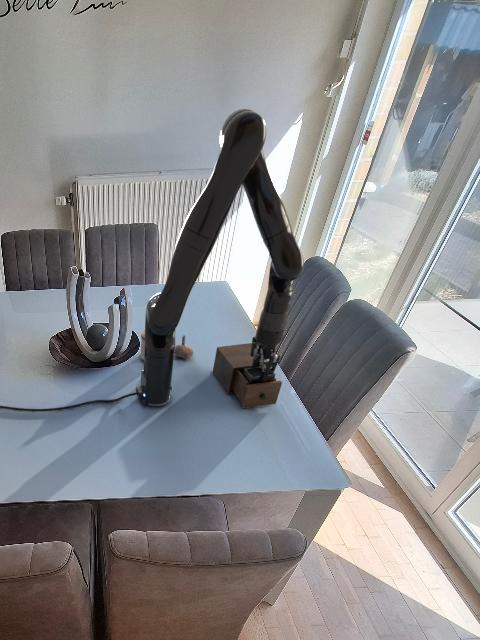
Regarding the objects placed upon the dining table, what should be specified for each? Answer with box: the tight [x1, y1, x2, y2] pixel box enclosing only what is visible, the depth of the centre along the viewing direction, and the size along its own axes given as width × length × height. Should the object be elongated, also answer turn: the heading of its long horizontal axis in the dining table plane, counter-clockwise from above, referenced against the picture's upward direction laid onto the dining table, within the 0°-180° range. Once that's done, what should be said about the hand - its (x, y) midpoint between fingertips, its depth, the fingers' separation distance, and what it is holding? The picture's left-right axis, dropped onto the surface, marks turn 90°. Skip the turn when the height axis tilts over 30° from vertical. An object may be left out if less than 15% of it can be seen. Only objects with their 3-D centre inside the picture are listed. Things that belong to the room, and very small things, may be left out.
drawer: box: [231, 369, 283, 409], centre depth 148 cm, size 15×11×8 cm
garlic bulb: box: [174, 334, 194, 360], centre depth 169 cm, size 8×7×8 cm
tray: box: [243, 366, 277, 384], centre depth 144 cm, size 8×6×2 cm
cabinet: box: [212, 342, 268, 395], centre depth 156 cm, size 15×13×10 cm
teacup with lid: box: [140, 329, 145, 361], centre depth 168 cm, size 12×9×12 cm
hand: (258, 376), depth 145 cm, fingers closed on tray, 5 cm apart
